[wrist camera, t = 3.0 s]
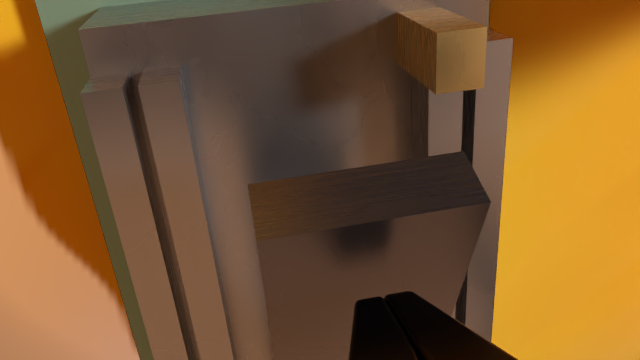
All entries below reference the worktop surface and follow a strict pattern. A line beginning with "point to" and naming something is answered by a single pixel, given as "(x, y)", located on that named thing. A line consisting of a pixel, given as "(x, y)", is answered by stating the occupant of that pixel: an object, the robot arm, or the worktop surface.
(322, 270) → the dark brown flat bar
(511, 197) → the worktop surface
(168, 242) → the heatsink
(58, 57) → the board
